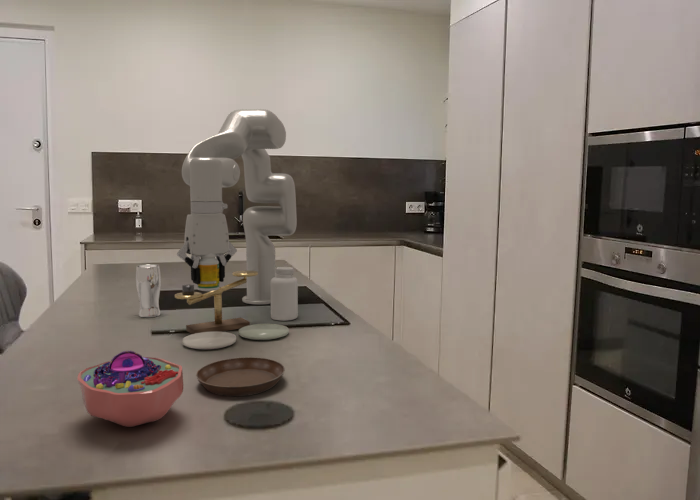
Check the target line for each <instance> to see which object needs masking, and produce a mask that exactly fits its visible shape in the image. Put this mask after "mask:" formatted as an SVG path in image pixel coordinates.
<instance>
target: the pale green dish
mask: <svg viewBox="0 0 700 500" xmlns="http://www.w3.org/2000/svg"><path fill="white" fill-rule="evenodd" d="M289 332H290V330H289V327H287V326H286V325H282V324H277V323H257V324H250V325H248V326H245V327H242V328H240V329H238V336H240V337H242V338H245V339H249V340H253V341H254V340H255V341H270V340H276V339H279V338H283V337H285V336H287V335H288V334H289Z"/></svg>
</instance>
